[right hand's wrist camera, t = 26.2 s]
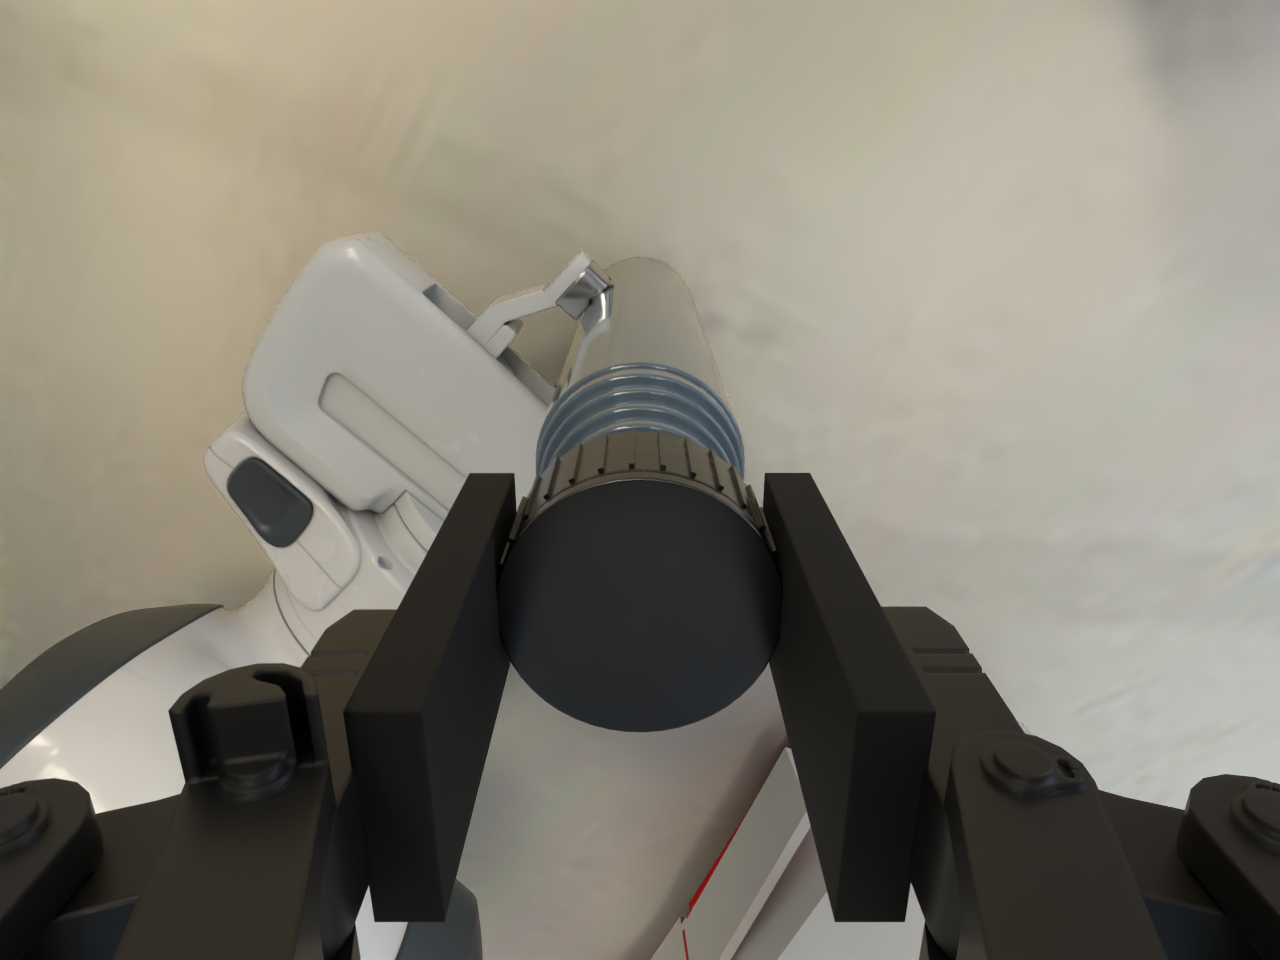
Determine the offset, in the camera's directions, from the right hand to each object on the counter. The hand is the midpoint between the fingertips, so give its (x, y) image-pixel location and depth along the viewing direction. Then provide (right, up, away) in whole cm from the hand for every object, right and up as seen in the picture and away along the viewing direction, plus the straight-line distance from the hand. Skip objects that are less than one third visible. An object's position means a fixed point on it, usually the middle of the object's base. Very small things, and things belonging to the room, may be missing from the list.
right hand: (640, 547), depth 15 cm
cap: (0, -1, -2) cm, 2 cm away
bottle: (0, +8, +22) cm, 23 cm away
